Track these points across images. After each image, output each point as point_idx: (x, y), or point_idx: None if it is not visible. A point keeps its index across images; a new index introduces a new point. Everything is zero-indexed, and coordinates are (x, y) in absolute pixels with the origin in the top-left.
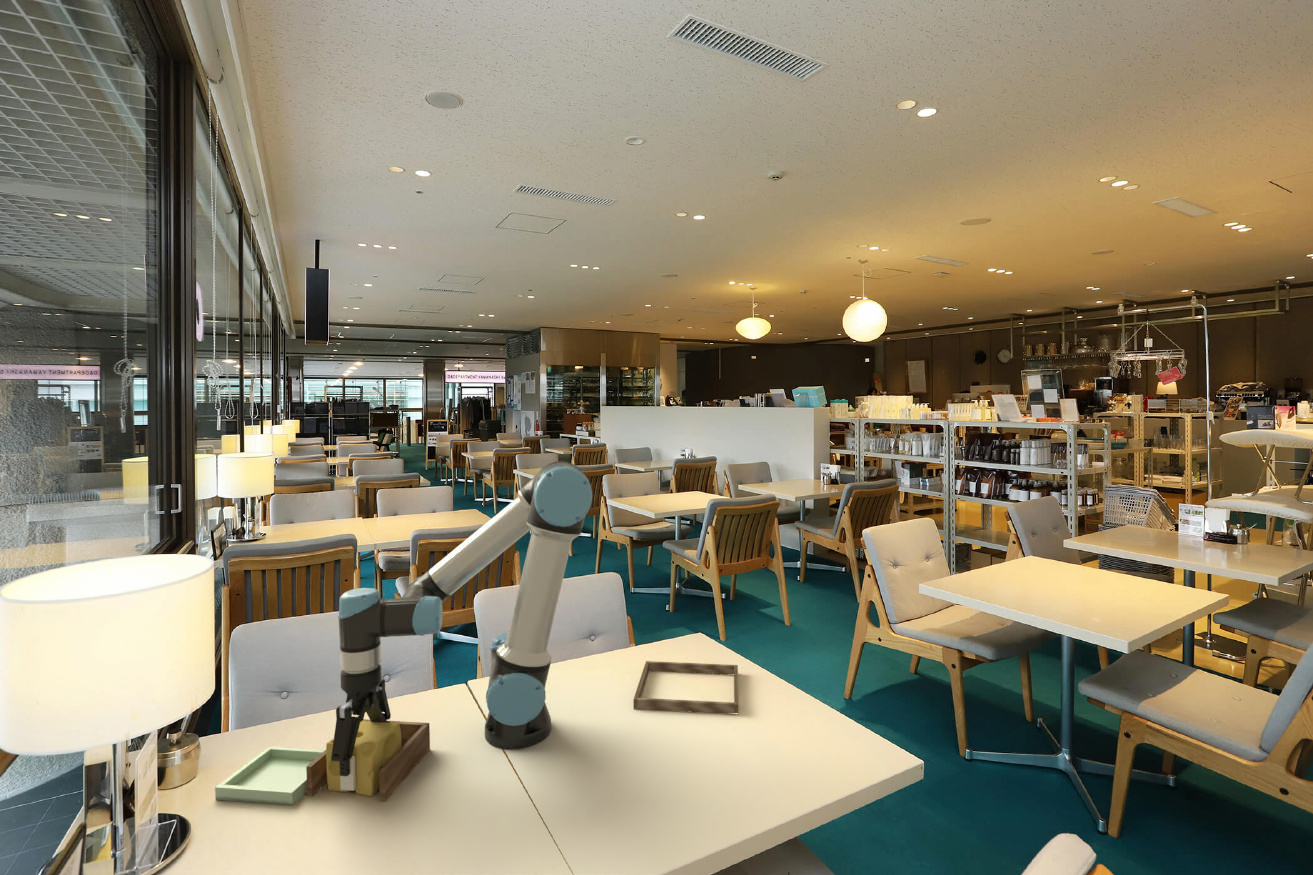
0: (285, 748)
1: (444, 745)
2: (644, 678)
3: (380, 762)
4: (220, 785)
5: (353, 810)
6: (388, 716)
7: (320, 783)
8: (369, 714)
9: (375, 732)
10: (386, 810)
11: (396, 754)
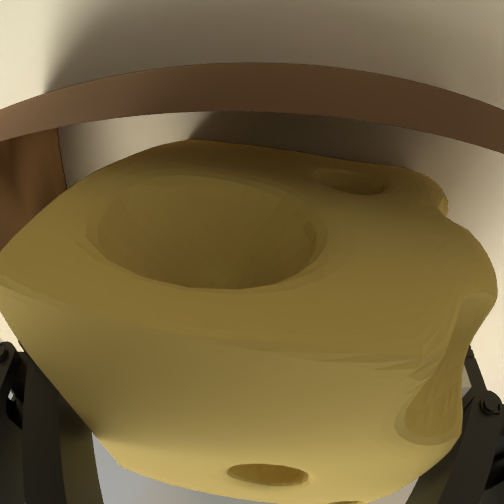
0: None
1: (18, 67)
2: None
3: (371, 207)
4: None
5: (486, 209)
6: (4, 360)
7: None
8: (97, 500)
9: (227, 432)
10: (498, 79)
11: (308, 99)
